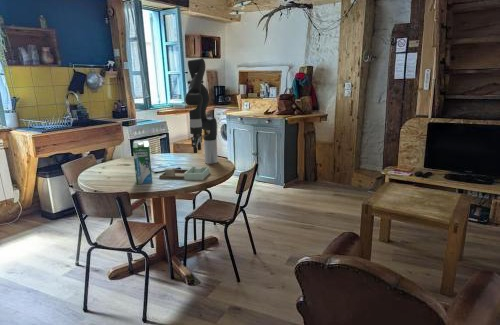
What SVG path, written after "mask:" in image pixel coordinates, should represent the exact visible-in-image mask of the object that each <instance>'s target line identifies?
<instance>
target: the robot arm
mask: <svg viewBox="0 0 500 325" xmlns="http://www.w3.org/2000/svg"><path fill="white" fill-rule="evenodd" d="M206 66H207V65H206V62H205V59H204V58H202V57H198V58H190V59H188V61H187V67H188V71H189V74H190V79H191V80H190V81H189V82H190V83H189V90H188V91H187V93H186V94H185V99H184V100H185V101H184V102H185V104H186V105H187V106H196V107H195V108H191V109H189V114H188V115H189V116H188V117H189V133H190V134H191V135H192V136H191V139H190V140H191V147H192V148H193V149H192V150H193V154H197V153H198V151H201V150H202V144H203V146H204V161H205V164H207V165H209V164H210V165H212V164H213V165H214V164H217V163H218V162H219V161H218V144H217V143H218V140H217V139H218V138H217V137H218V122H217V119H216V118H215V117H207V113H206V112H207V108H208V106H209V103H210V94H209V90H208V89H207V87H206V86H205V85H204V84H203V82H202V81H203V79H204V76H205V72H206ZM203 131H209V133H208V134H206V135H204V136H203V138H202V134H203Z"/></svg>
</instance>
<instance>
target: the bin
mask: <svg viewBox="0 0 500 325" xmlns="http://www.w3.org/2000/svg"><path fill="white" fill-rule="evenodd" d="M196 167H197V166H192V167H190V168H188V169H187V170H188V171H186V172H185V173H184V179H183V180H185V181H187V180H188V181H189V180H190V181H203V180H204V179H205V178H206V177H207V176H209V174H210V172H211V170H210V169H211V168H210V166H202V167H203V173H195V172H194V169H195V168H196Z"/></svg>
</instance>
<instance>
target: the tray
mask: <svg viewBox="0 0 500 325" xmlns="http://www.w3.org/2000/svg"><path fill="white" fill-rule="evenodd" d="M174 169H175V175H174V176H166V174H165V171H164V172H163V173H161V174H160V175H159V176H158V178H159V180H184V173H185V172H186V171H188V170H189V169H179V168H178V169H176V168H174Z"/></svg>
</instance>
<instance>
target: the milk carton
mask: <svg viewBox="0 0 500 325" xmlns="http://www.w3.org/2000/svg"><path fill="white" fill-rule="evenodd" d="M150 151H151V150H150V141H149V140H138V141H136V140H135V141H132V153H133V163H134V173H135V181H136V186H139V185H140V186H142V185H144V184H152V183H153V174H152V164H151V163H152V161H151V154H150V153H151V152H150Z"/></svg>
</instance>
